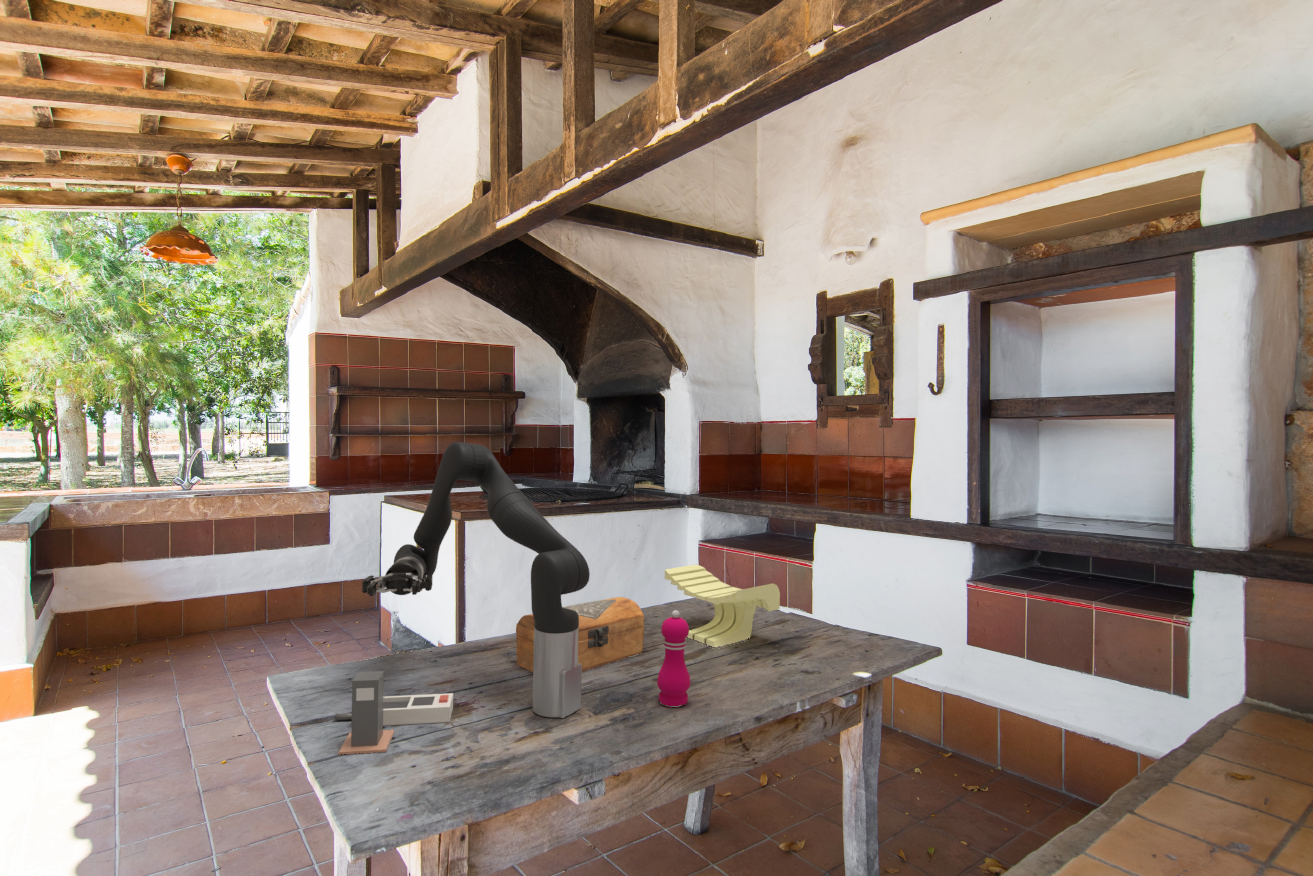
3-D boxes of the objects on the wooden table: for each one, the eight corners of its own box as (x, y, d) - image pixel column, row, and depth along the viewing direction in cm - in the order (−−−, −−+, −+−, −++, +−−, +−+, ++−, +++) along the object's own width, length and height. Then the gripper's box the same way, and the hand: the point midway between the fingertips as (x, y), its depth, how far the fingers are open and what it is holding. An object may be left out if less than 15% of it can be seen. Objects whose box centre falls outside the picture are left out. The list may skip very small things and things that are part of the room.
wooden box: (551, 684, 158) (552, 624, 158) (513, 664, 170) (515, 608, 170) (648, 656, 178) (649, 603, 178) (608, 640, 191) (609, 591, 190)
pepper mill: (666, 711, 144) (668, 616, 144) (650, 698, 150) (653, 608, 150) (696, 705, 147) (698, 612, 147) (679, 693, 154) (681, 604, 153)
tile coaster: (394, 732, 131) (394, 729, 131) (386, 752, 123) (386, 749, 123) (349, 734, 130) (349, 732, 130) (338, 755, 122) (338, 752, 122)
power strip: (453, 707, 143) (453, 690, 143) (449, 722, 136) (449, 704, 136) (340, 713, 139) (340, 695, 139) (330, 728, 132) (331, 709, 132)
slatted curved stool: (778, 646, 189) (780, 581, 189) (739, 658, 178) (740, 589, 178) (702, 620, 212) (703, 563, 211) (663, 629, 201) (664, 569, 201)
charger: (382, 734, 129) (384, 671, 129) (377, 745, 125) (378, 680, 124) (357, 735, 128) (358, 672, 128) (351, 747, 124) (352, 681, 124)
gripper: (373, 559, 159) (356, 574, 143) (437, 558, 162) (428, 571, 146) (372, 592, 159) (356, 610, 143) (437, 589, 162) (428, 607, 146)
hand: (392, 590), depth 144 cm, fingers open, 8 cm apart
